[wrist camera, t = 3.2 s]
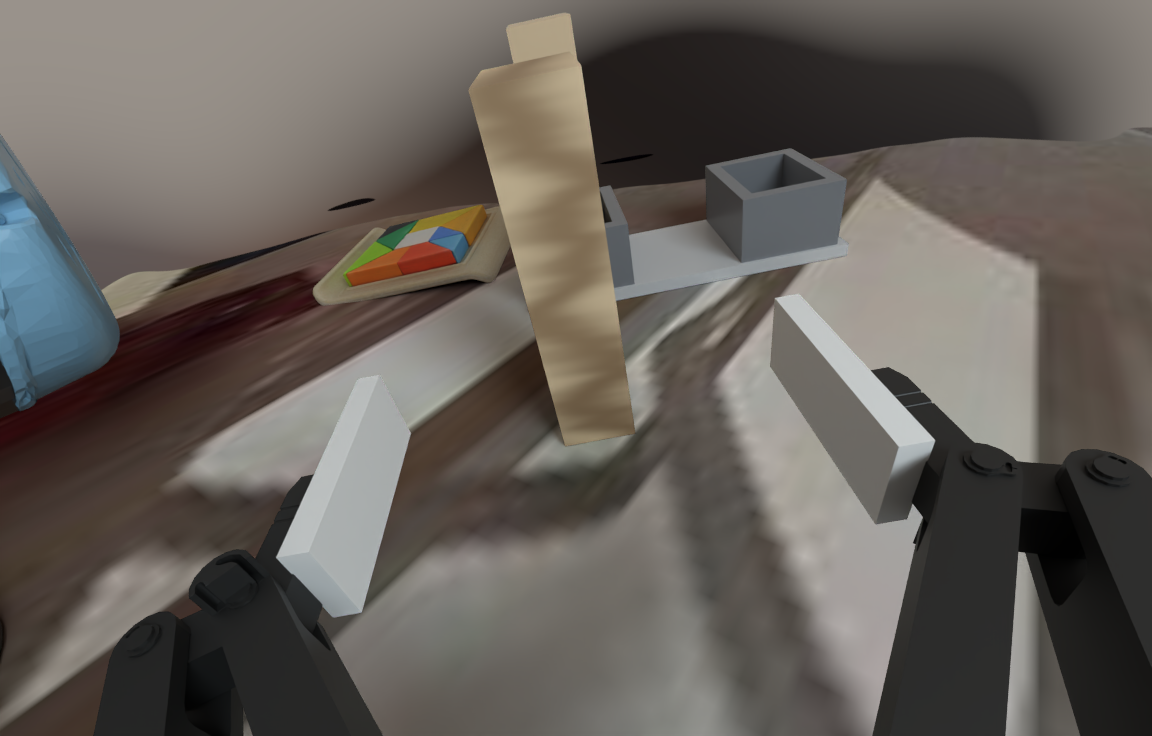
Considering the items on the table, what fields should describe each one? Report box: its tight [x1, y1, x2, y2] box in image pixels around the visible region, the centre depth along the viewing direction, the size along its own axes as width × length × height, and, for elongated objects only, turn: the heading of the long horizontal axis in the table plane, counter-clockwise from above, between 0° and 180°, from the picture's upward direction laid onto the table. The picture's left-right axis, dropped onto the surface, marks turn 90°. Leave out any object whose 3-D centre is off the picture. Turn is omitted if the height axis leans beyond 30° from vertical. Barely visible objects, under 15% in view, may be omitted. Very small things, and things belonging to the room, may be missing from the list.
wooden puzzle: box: [313, 205, 511, 305], centre depth 54 cm, size 18×19×4 cm
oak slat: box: [469, 52, 635, 446], centre depth 25 cm, size 4×6×18 cm, turn 5°
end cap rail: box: [506, 13, 849, 301], centre depth 38 cm, size 25×10×19 cm, turn 95°
